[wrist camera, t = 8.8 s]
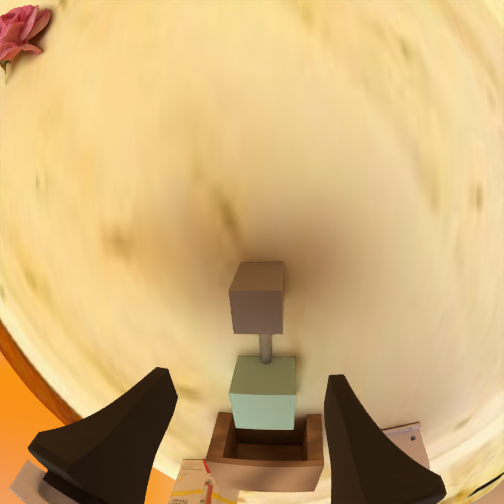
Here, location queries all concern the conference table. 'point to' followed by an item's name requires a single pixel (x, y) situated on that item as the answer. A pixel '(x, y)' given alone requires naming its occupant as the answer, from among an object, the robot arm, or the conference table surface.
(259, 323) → the block with rod
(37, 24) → the flower
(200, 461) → the ink box
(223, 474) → the walnut cubby
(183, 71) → the conference table surface
